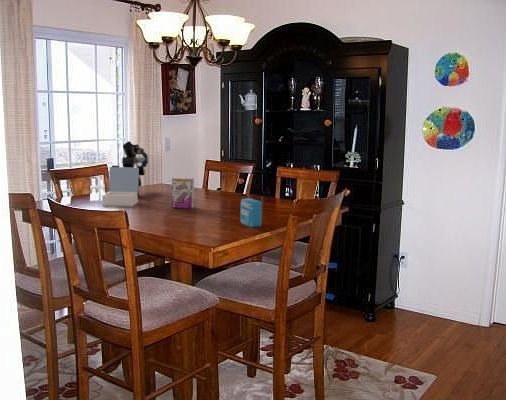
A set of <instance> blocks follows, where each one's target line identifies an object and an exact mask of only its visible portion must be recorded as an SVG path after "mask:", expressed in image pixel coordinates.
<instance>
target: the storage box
mask: <svg viewBox="0 0 506 400" xmlns="http://www.w3.org/2000/svg"><path fill="white" fill-rule="evenodd" d="M101 198H102V199H101V200H102V202H101V203H102V207H119V208H120V207H122V208H123V207H125V208H127V207H128V208H132V207H134V206H135V205H136V204H137V203H138V201H139V200H138V196H137V192H111V191H109V190H108V191H107V192H105V193H104V194H102V195H101Z"/></svg>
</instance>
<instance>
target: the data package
mask: <svg viewBox="0 0 506 400" xmlns="http://www.w3.org/2000/svg"><path fill="white" fill-rule="evenodd" d="M262 206H263V204H262V202H261V201H260V200H257V199H254V198H249V197H248V198H241V199H240V210H239V211H240V213H239V215H240V216H239V217H240V224H242V225H244V226H247V227H250V228H260V227H261V226H262V214H263V213H262V211H263V209H262V208H263V207H262Z"/></svg>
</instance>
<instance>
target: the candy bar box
mask: <svg viewBox="0 0 506 400" xmlns="http://www.w3.org/2000/svg"><path fill="white" fill-rule="evenodd" d="M194 184H195V181H194V178H193V177H192V178H191V177H178V176H174V177H172V179H171V209H189V210H190V209H191V210H193V209H194V198H195V197H194V195H195V194H194V193H195V191H194V189H195V188H194V186H195V185H194Z"/></svg>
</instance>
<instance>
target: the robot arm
mask: <svg viewBox="0 0 506 400" xmlns="http://www.w3.org/2000/svg"><path fill="white" fill-rule="evenodd" d="M122 148H123V151H124V154H125V157H122V161H121V163H122V167H132V168H139V179H138V192H137V197H140V193H139V190H140V188H139V187H142V181H141V177H140V176H145V174H146V173H145V172H146V171H145V167H147V165H149V157H148V154H147V153H146V152H145V150H144V148H143V147H140V145H139V144H138V143H132V141H129V140H127V142H125V143H123V145H122ZM137 155H142V156H137ZM111 167H120V166H119V165H111Z"/></svg>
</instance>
